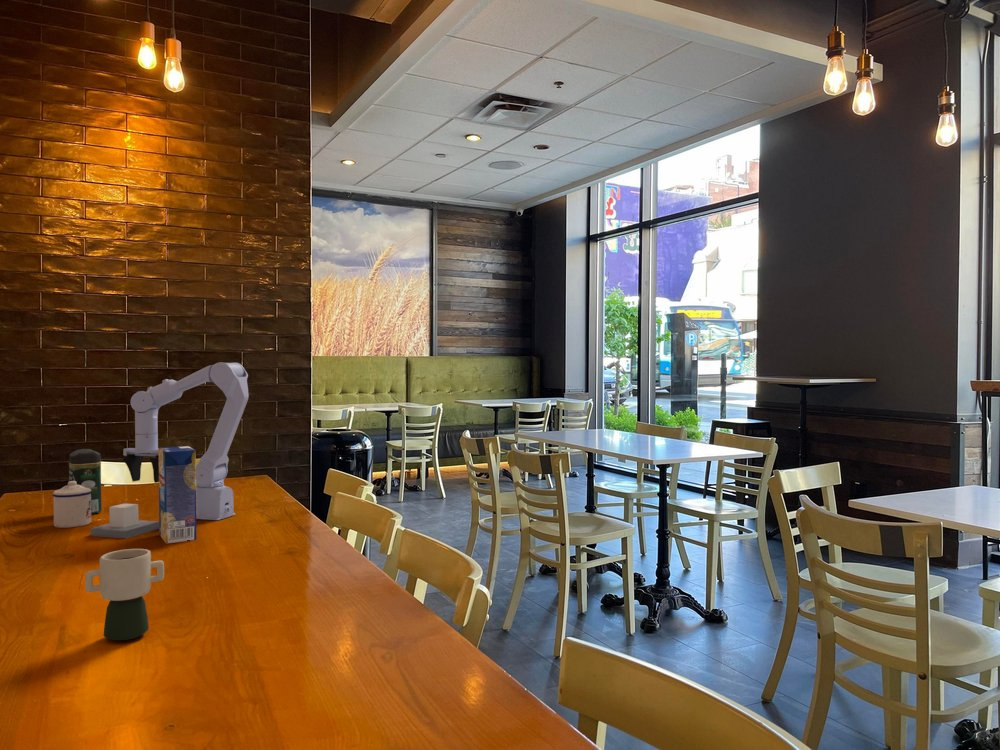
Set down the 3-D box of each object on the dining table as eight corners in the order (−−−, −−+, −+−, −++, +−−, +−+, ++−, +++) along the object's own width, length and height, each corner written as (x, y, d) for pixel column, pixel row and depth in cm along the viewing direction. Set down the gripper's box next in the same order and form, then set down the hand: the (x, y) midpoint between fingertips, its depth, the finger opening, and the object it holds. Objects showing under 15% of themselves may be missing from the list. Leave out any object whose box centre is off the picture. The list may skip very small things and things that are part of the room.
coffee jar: (67, 512, 205) (67, 448, 205) (98, 508, 210) (98, 446, 210) (71, 517, 198) (71, 452, 197) (103, 514, 202) (103, 449, 202)
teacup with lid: (95, 524, 189) (95, 481, 189) (56, 530, 183) (55, 485, 182) (85, 517, 198) (85, 476, 197) (47, 522, 192) (47, 480, 191)
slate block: (159, 531, 184) (159, 521, 184) (125, 541, 173) (125, 531, 173) (125, 528, 187) (125, 519, 187) (90, 538, 176) (90, 528, 176)
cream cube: (138, 523, 181) (138, 504, 181) (124, 527, 177) (123, 507, 177) (124, 522, 183) (124, 503, 182) (109, 526, 178) (109, 506, 178)
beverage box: (188, 531, 181) (187, 445, 181) (196, 539, 172) (195, 450, 171) (159, 534, 177) (158, 447, 177) (166, 543, 168) (165, 452, 168)
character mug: (160, 622, 116) (159, 544, 116) (168, 636, 110) (167, 553, 110) (84, 637, 110) (83, 554, 109) (88, 652, 104) (87, 565, 103)
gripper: (114, 434, 197) (115, 482, 197) (157, 435, 193) (157, 484, 193) (134, 432, 204) (134, 478, 204) (175, 433, 200) (176, 480, 200)
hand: (147, 481), depth 199 cm, fingers open, 7 cm apart
